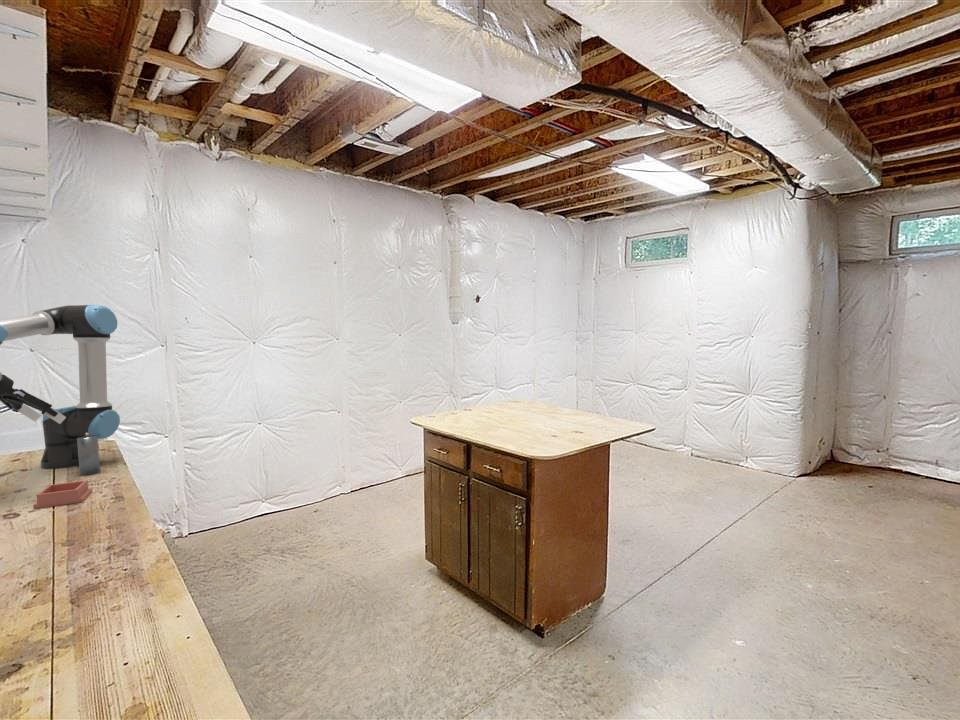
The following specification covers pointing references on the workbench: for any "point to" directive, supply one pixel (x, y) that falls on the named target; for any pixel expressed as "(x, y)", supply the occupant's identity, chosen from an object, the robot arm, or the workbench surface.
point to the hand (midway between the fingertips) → (50, 419)
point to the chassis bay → (63, 494)
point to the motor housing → (88, 454)
